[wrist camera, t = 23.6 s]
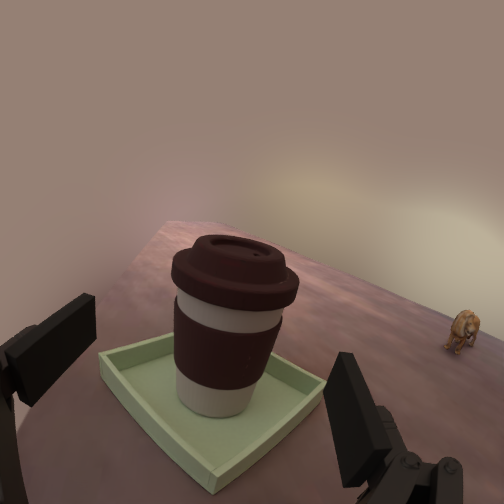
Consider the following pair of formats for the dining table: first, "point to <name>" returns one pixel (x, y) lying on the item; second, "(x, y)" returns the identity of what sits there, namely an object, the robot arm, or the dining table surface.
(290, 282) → the coffee cup
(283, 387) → the tray
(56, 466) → the dining table surface
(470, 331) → the lion figurine
